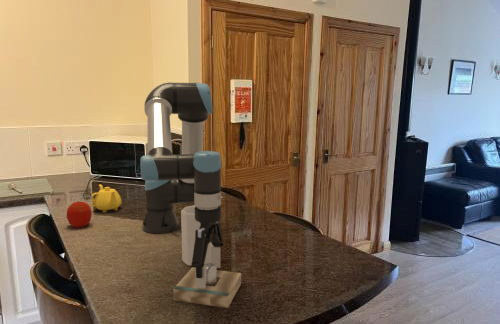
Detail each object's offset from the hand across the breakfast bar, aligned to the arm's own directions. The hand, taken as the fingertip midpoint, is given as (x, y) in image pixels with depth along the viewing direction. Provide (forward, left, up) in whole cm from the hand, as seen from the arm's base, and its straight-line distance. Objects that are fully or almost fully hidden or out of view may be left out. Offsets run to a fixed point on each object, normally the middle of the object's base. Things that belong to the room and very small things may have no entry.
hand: (208, 276), depth 112 cm
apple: (-74, +40, -5) cm, 84 cm away
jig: (0, 0, -5) cm, 5 cm away
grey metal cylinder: (0, 0, -5) cm, 5 cm away
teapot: (-77, +64, -5) cm, 100 cm away
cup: (-11, +20, -5) cm, 23 cm away
